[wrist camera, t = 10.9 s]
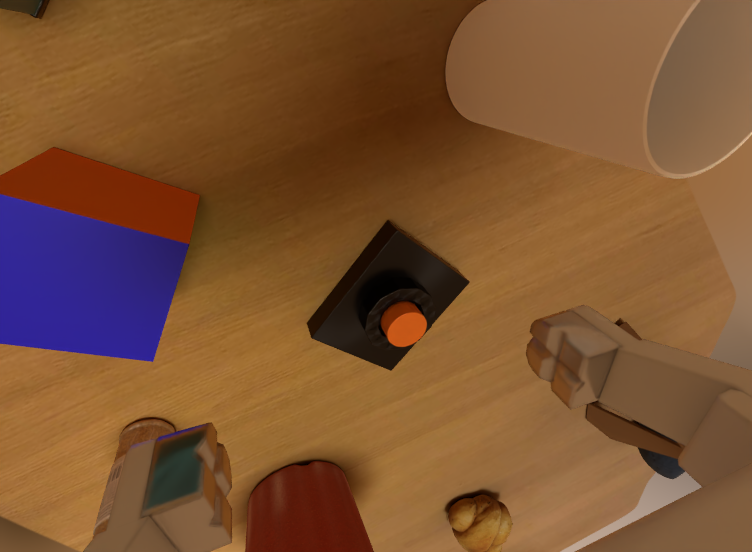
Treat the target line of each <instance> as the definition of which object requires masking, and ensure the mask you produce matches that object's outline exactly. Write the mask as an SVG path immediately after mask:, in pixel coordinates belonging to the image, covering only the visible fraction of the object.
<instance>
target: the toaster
mask: <svg viewBox="0 0 752 552" xmlns="http://www.w3.org/2000/svg"><path fill="white" fill-rule="evenodd" d="M48 2H49V0H0V8H2V9H7V10H13V11H18V12H23V13H28V14H30V15H32V16H33V17H35V18H39V19H40V18H41V17H42V15H43V13H44V10H45V8H46V6H47V4H48Z"/></svg>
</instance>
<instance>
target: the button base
mask: <svg viewBox="0 0 752 552" xmlns="http://www.w3.org/2000/svg"><path fill="white" fill-rule="evenodd" d="M468 284H469V281H468V280H467V279H466V278H465V277H464V276H463V275H462V274H461V273H460V272H459V271H458V270H456V269H455V268H454V267H452V266H451V265H449V264H448V263H447V262H445V261H444V260H443V259H441V258H440V257H438V256H437V255H436V254H434V253H433V252H431V251H430V250H429V249H427V248H426V247H425V246H423V245H422V244H420V243H419V242H418V241H416V240H415V239H414V238H412V237H411V236H409V235H408V234H407V233H405V232H404V231H402V230H401V229H400V228H398V227H397V226H396V225H394V224H393V223H391V222H390V221H389V220H388V221H387V222H386V223H385V225H384V226H383V227H382V228H381V230H380V231H379V232H378V233H377V235H376V236H375V237H374V239H373V240H372V241H371V242H370V244H369V245H368V246H367V248H366V249H365V250H364V251H363V253H362V254H361V255H360V256H359V258H358V259H357V260H356V262H355V263H354V264H353V265H352V267H351V268H350V269H349V270H348V272H347V273H346V274H345V276H344V277H343V278H342V279H341V281H340V282H339V283H338V285H337V286H336V287H335V288H334V290H333V291H332V292H331V293H330V295H329V296H328V297H327V299H326V300H325V301H324V302H323V304H322V305H321V306H320V307H319V309H318V310H317V311H316V313H315V314H314V315H313V316H312V318H311V319H310V320H309V322H308V323H307V325H308V328H309V332H310V335H311V338H312V339H315V340H317V341H320V342H322V343H325V344H327V345H329V346H332V347H334V348H337V349H339V350H342V351H344V352H347V353H349V354H352V355H354V356H356V357H359V358H361V359H364V360H366V361H369V362H371V363H374V364H376V365H378V366H381V367H383V368H386V369H388V370H392V369H393V368H394V367H395V366H396V365H397V364H398V363H399V361H400V360H401V359H402V358H403V357H404V356H405V355H406V354H407V352H408V351H409V350H410V349H411V348H412V347H413V346H414V344H415V343H416V342H415V343H413V344H411V345H409V346H405V347H398V346H395V345H393V344H391V343H390V342H389V340H388V338H387V337H386V335H385V333H384V331H383V329H382V327H381V318H382V315H383V313H384V312H385V311H386V309H387V308H389V307H390V306H391V305H393V304H395V303H397V302H401V301H408V302H412V303H413V304H415V305H416V306H417V308H418V309H419V310H420V312H421V313H422V314H423V316H424V317H425V319H426V322H427V327H426V331H425V333H426V332H427V331H428V330H429V329H430V328H431V326H432V324H433V323H434V322H435V321H436V320H437V319H438V317H439V316H440V315H441V314H442V313H443V312H444V311H445V310H446V308H447V307H448V306H449V305H450V304H451V303H452V302H453V301H454V299H455V298H456V297H457V296H458V295H459V294H460V293H461V291H462V290H463V289H464V288H465V287H466V286H467V285H468ZM425 333H424V334H425ZM424 334H423V335H424ZM422 337H423V336H422ZM422 337H421V338H422ZM421 338H420V339H421ZM420 339H419V340H420ZM419 340H418V341H419Z"/></svg>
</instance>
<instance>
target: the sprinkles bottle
mask: <svg viewBox="0 0 752 552" xmlns="http://www.w3.org/2000/svg"><path fill="white" fill-rule="evenodd" d="M174 432H175V430H174V428H173V426H171V425H170V424H168V423H167V422H164V421H161V420H157V419H151V420H142V421H138V422H135V423H133V424H131V425H129V426H128V427H127V428H125V429H124V430H123V432H122V433H121V435H120V438H119V447H118V450H117V454H116V458H115V461H114V464H113V466H112V468H111V471H110V475H109V478H108V482H107V485H106V489H105V492H104V496H103V499H102V503H101V506H100V510H99V513H98V517H97V521H96V524H95V528H94V532H93V535H94V536H93V538H94V537H95V536H96V534H99V533H101V532H104V531H106V528H107V524H108V520H109V516H110V513H111V509H112V505H113V501H114V498H115V494H116V490H117V486H118V482H119V479H120V475H121V471H122V467H123V464H124V460H125V456H126V453H127V452H128V450H129V449H130V447H131V446H132V445H134V444H138V443H141V442H144V441H148V440H151V439H155V438H158V437H160V436H164V435H167V434H171V433H174Z"/></svg>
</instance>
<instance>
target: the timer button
mask: <svg viewBox="0 0 752 552" xmlns="http://www.w3.org/2000/svg"><path fill="white" fill-rule="evenodd" d="M381 327H382V329H383V331H384V333H385V335H386V337H387V338H388V340H389V342H390V343H391V344H393V345H395V346H398V347H405V346H409V345H411V344H413V343H415V342H417V341H418V340H419V339H420V338H421V337H422V336H423V334H424V333H425V331H426V327H427V322H426V319H425V317H424V316H423V314H422V313H421V312H420V310H419V309H418V308H417V306H416V305H415V304H413V303H412V302H408V301H401V302H397V303H395V304H393V305H391V306H390V307H389V308H387V309H386V311H385V312H384V313H383V315H382V318H381Z"/></svg>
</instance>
